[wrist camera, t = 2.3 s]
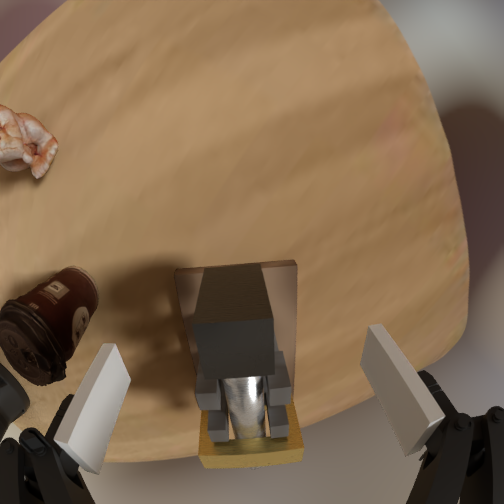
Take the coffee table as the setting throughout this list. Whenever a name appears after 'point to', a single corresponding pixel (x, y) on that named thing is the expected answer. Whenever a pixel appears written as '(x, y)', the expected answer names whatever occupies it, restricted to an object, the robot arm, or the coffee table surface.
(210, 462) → the block
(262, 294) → the shaft
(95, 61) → the coffee table surface
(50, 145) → the figurine
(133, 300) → the coffee table surface
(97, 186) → the coffee table surface
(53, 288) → the coffee cup
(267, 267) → the bearing block
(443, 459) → the robot arm
